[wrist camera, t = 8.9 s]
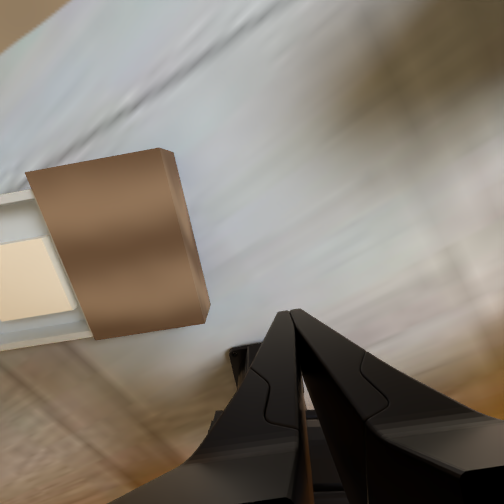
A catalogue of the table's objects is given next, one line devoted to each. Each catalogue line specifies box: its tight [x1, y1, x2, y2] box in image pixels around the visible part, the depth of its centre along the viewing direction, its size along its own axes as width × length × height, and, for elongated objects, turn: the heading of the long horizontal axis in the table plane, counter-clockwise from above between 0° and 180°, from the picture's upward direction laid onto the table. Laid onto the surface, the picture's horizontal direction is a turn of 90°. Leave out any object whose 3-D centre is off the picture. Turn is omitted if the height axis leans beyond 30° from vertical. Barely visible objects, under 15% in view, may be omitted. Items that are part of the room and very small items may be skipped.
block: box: [0, 234, 79, 322], centre depth 20 cm, size 6×6×2 cm
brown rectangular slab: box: [25, 148, 211, 340], centre depth 19 cm, size 13×9×3 cm
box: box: [0, 189, 93, 351], centre depth 20 cm, size 12×12×2 cm
